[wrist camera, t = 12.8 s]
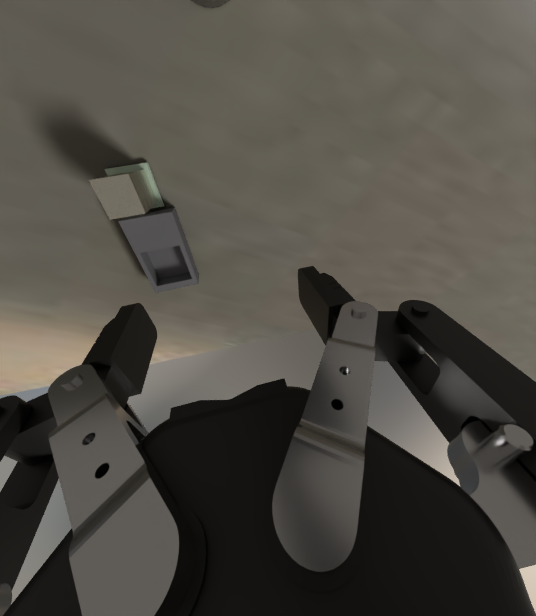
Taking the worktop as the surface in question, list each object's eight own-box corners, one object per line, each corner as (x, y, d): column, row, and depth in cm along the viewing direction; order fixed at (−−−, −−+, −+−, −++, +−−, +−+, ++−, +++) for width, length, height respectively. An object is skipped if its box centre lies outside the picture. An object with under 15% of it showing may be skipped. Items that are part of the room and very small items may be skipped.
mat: (105, 168, 32) (104, 169, 31) (147, 162, 32) (146, 162, 32) (126, 212, 35) (125, 212, 35) (164, 205, 36) (163, 206, 36)
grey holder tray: (125, 215, 36) (118, 221, 33) (174, 207, 36) (171, 211, 34) (158, 283, 43) (155, 292, 41) (199, 275, 44) (198, 283, 41)
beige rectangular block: (112, 174, 32) (88, 180, 26) (144, 169, 32) (128, 173, 26) (128, 207, 35) (110, 219, 28) (157, 202, 35) (145, 213, 29)
